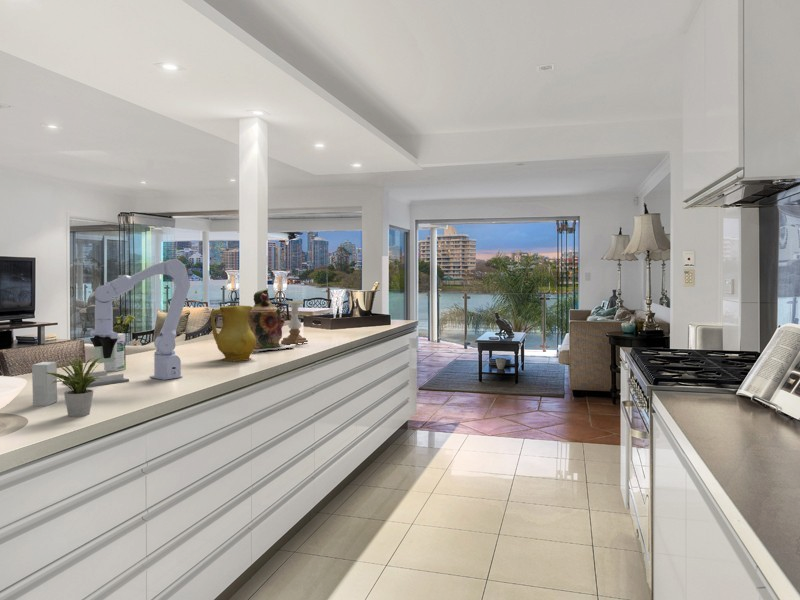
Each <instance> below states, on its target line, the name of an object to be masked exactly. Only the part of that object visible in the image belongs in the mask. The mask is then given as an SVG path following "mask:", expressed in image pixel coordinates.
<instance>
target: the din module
mask: <svg viewBox="0 0 800 600" xmlns="http://www.w3.org/2000/svg"><path fill="white" fill-rule="evenodd" d="M93 350H94V352H93V353H94V354H93V356H94V357H93V358H94V360H96V359H98V358H101V359H99V360H98V361H97V362H96V363H95V364H104V363H108V362H114V348H113V351H112V355H111V358H102V357H104V356H103V348H102V346H97V347H94V346H93ZM94 360H93V361H94Z"/></svg>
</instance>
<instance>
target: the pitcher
mask: <svg viewBox="0 0 800 600" xmlns="http://www.w3.org/2000/svg"><path fill="white" fill-rule="evenodd" d="M252 308H253V306H251V305H231V306H230V305H226V306H222V305H221V306H220V307H219V308H214V309H213V310H212V311H211V314H210V321H211V323H210V324H211V325H210V326H211V328H212V329H211V331H212V336H213V339H214V341H215V344H216V346H217V350H219V352H220V353H222V354H223V356H224V358H222V360H223V361H226V362H242V361H250V360H251V358H250V356H251V355H252V354H253V353H255V352H254V351H253V349H254V347H255V346H256V338H255V336H254V334H253V332H252V331H251V329H250V327H249V324H248V315H249V312H250V311H251V309H252ZM217 314H220V315H221V316H222V320H223V321H222V327H221V329H220V331H219V333H218V331H217V327H216V323H215V316H216V315H217ZM249 359H250V360H249Z"/></svg>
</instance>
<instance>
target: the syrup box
mask: <svg viewBox="0 0 800 600" xmlns="http://www.w3.org/2000/svg"><path fill="white" fill-rule="evenodd" d="M117 333H118V338H117V342H116V343H115V345H114V362H108V363H103V371H107V372H119V371H124V370H127V367H126V365H127V361H126V355H127V354H126V334H125V333H119V332H117Z"/></svg>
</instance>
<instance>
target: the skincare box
mask: <svg viewBox="0 0 800 600" xmlns="http://www.w3.org/2000/svg"><path fill="white" fill-rule="evenodd" d="M53 362H54V361H41V362H38V363H34V364H32V365H31V370H32V372H31V373H32V374H31V376H32V377H31V379H32V381H31V383H32V384H31V385H32V406H33V407H47V406H49V405H53V404H54V403H56V402H58V382H54V381H58V379H57V378H58V377H56V376H54V375H51V374H47V373H57V370H58V368H57V367H58V366H57V365H58V363H57V362H56V363H53ZM57 374H58V373H57ZM54 377H56V378H54ZM53 382H54V383H53Z"/></svg>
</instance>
